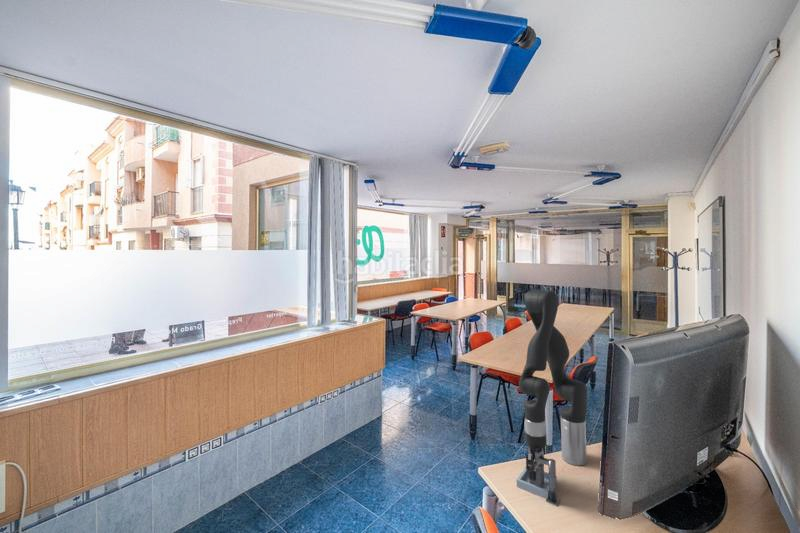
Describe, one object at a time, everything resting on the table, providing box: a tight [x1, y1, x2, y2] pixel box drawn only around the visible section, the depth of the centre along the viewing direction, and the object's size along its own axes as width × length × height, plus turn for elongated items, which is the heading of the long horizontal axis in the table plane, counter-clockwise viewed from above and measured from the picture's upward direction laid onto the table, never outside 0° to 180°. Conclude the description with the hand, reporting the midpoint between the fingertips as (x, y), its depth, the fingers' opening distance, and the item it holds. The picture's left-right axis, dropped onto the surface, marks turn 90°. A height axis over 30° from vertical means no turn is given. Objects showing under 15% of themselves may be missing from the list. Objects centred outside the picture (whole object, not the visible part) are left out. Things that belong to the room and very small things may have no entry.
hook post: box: [535, 450, 561, 507], centre depth 115 cm, size 4×7×15 cm, turn 50°
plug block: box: [530, 460, 545, 488], centre depth 123 cm, size 4×4×9 cm
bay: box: [516, 466, 558, 500], centre depth 123 cm, size 11×11×2 cm
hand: (536, 473), depth 123 cm, fingers open, 8 cm apart
